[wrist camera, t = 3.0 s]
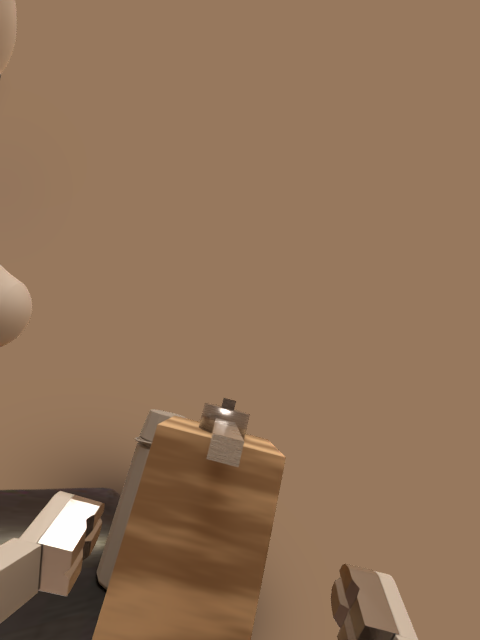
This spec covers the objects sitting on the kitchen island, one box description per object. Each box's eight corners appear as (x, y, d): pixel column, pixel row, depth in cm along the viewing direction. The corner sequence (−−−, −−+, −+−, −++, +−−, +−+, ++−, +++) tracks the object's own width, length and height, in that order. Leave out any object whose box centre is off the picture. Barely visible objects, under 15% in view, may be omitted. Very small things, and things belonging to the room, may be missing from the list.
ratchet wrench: (262, 473, 21) (274, 414, 22) (182, 452, 21) (198, 394, 22) (242, 435, 40) (249, 404, 41) (200, 424, 40) (208, 393, 41)
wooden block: (222, 785, 24) (285, 457, 31) (60, 744, 24) (157, 424, 31) (221, 658, 36) (267, 439, 42) (111, 630, 36) (174, 415, 42)
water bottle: (153, 587, 45) (198, 421, 51) (103, 603, 40) (160, 416, 46) (126, 554, 51) (169, 410, 57) (80, 564, 46) (133, 404, 52)
